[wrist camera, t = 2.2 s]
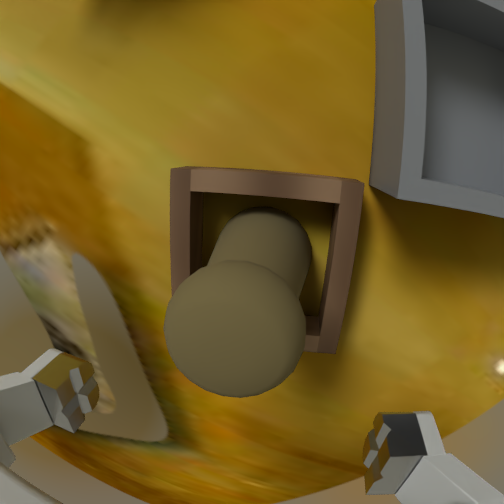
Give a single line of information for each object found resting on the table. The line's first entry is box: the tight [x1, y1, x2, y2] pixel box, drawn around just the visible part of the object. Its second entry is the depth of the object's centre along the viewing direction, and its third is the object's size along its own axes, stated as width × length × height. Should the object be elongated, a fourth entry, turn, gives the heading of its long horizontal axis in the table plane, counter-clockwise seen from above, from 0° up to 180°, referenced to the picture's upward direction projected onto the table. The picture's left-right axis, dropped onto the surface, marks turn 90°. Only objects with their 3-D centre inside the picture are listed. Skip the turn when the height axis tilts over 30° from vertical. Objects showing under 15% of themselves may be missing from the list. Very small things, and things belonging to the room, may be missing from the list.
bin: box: [369, 0, 504, 218], centre depth 13 cm, size 12×12×6 cm
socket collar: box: [170, 166, 364, 354], centre depth 19 cm, size 10×10×2 cm
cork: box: [164, 207, 311, 398], centre depth 15 cm, size 6×6×11 cm
